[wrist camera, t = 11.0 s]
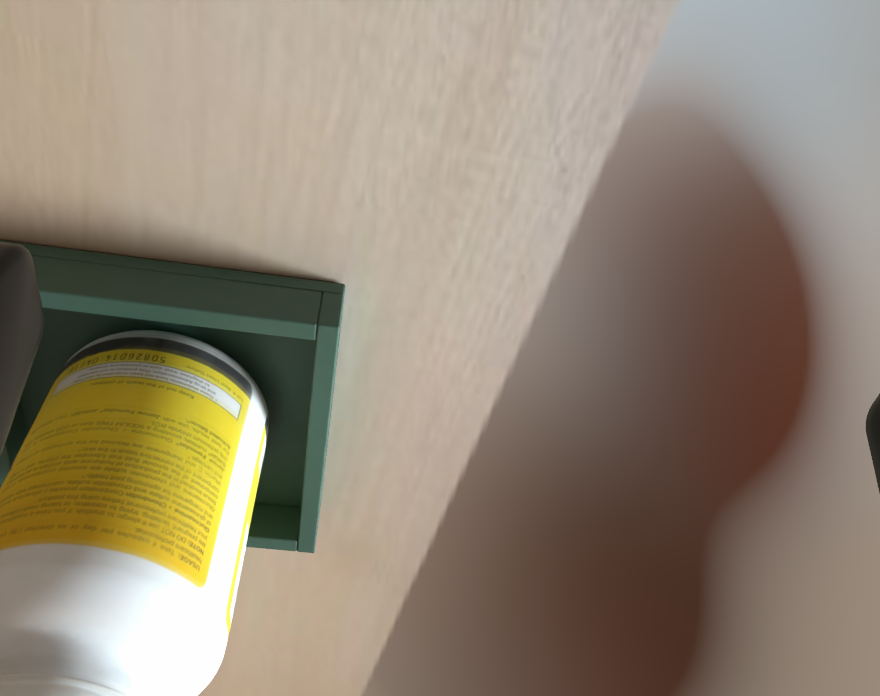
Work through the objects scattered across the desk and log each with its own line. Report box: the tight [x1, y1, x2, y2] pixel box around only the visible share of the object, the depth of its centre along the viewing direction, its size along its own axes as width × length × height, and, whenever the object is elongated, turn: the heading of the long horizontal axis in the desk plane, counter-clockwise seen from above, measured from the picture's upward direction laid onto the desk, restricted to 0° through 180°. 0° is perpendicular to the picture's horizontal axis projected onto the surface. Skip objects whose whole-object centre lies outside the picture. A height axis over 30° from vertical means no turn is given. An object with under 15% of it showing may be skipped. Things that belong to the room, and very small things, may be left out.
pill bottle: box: [0, 330, 269, 696], centre depth 21 cm, size 6×6×12 cm
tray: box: [0, 240, 345, 553], centre depth 26 cm, size 10×10×2 cm
